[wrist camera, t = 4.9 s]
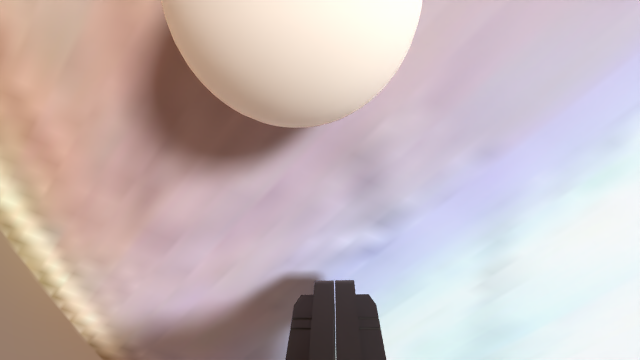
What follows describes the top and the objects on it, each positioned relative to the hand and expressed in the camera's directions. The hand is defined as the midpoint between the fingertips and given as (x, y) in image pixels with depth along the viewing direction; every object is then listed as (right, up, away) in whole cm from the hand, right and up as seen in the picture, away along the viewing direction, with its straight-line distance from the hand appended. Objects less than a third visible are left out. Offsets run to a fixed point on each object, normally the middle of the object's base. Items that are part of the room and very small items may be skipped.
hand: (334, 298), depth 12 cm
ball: (-1, +9, -5) cm, 10 cm away
